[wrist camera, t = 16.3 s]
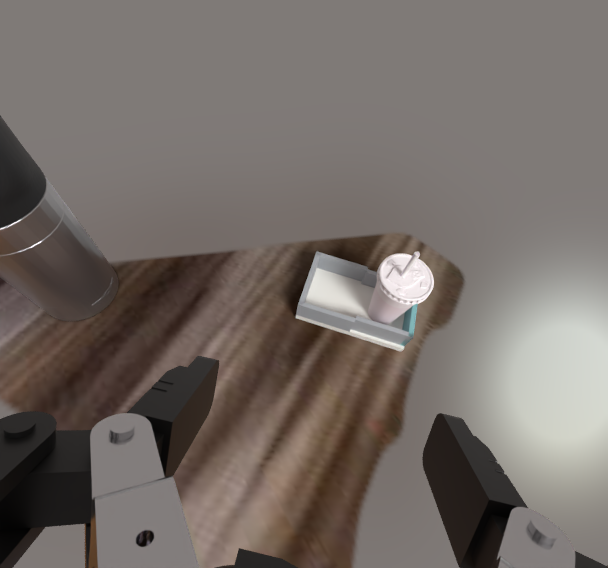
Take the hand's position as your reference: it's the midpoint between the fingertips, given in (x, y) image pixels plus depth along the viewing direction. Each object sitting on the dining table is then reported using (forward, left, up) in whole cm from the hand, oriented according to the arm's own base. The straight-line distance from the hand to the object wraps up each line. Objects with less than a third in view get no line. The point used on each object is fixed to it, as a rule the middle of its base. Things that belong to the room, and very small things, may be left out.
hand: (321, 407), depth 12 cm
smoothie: (+7, +20, -28) cm, 35 cm away
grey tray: (+4, +21, -29) cm, 36 cm away
